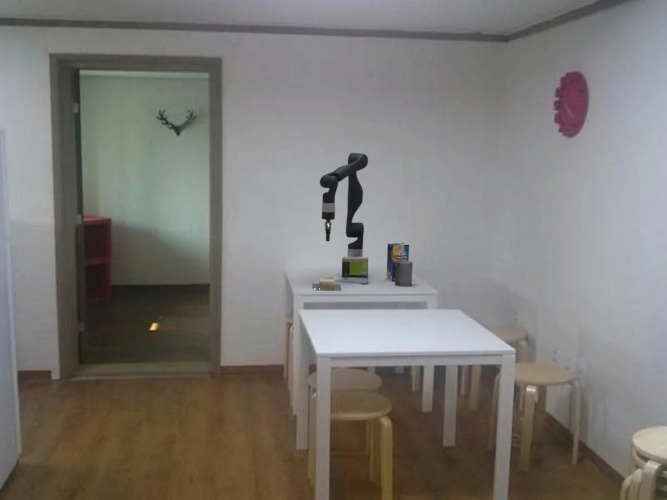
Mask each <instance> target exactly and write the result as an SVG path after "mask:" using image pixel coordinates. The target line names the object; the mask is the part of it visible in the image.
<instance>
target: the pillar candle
mask: <svg viewBox="0 0 667 500" xmlns="http://www.w3.org/2000/svg"><path fill="white" fill-rule="evenodd" d="M413 264H414V263H413V261H411V260H409V261H405V259H404V260H400V261H396V277H395V282H394V285H395V286H397V287H398V286H399V287H411V286H412V284H413V266H414V265H413ZM410 285H411V286H410Z"/></svg>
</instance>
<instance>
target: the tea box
mask: <svg viewBox="0 0 667 500" xmlns="http://www.w3.org/2000/svg"><path fill="white" fill-rule="evenodd" d="M368 281H369V257H368V256H363V257H348V256H343V257H342V259H341V283H343V284H362V285H365V284H368Z"/></svg>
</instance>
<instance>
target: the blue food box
mask: <svg viewBox="0 0 667 500" xmlns="http://www.w3.org/2000/svg"><path fill="white" fill-rule="evenodd" d="M386 253H387V254H386V278H385V279H386V281H389V282H391V283H393V282H394V283H395V277H396V261H400V260H404V259H405V261H410V260H409V258H410V244H409V243H405V242H399V243H398V242H396V243H387V252H386Z"/></svg>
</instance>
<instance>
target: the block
mask: <svg viewBox="0 0 667 500" xmlns="http://www.w3.org/2000/svg"><path fill="white" fill-rule="evenodd" d="M318 284H319V287H320V290H332V291H331V292H333V291H334V284H336V282H335V278H334V277H330V276H329V277H327V276H325V277H324V276H321V277H319V282H318ZM334 292H335V291H334Z"/></svg>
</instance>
